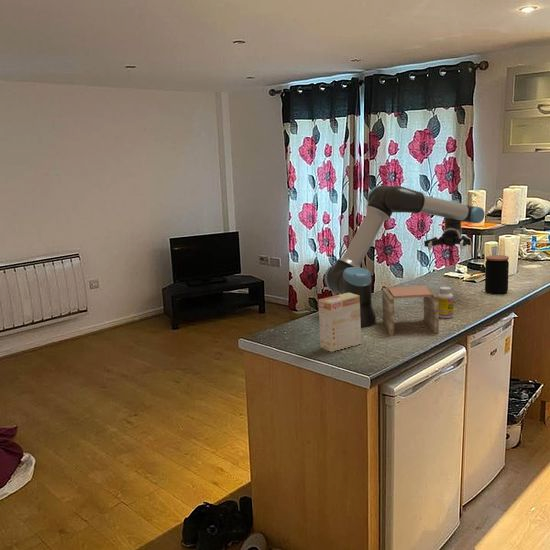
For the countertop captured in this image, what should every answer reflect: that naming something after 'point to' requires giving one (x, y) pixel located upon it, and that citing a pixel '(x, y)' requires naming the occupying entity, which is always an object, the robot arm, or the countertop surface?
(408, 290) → the trapdoor
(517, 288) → the countertop surface
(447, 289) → the supplement bottle
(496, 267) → the coffee jar
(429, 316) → the stand
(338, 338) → the coffeecake box
